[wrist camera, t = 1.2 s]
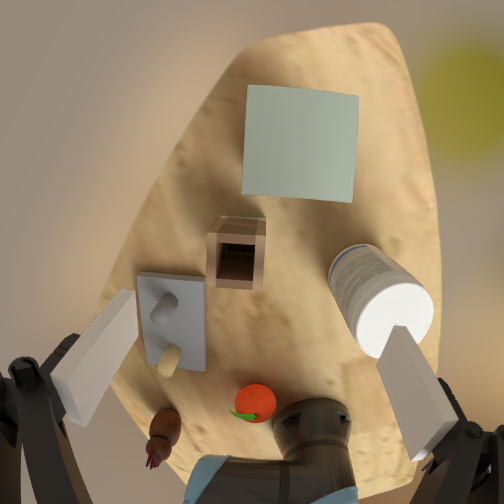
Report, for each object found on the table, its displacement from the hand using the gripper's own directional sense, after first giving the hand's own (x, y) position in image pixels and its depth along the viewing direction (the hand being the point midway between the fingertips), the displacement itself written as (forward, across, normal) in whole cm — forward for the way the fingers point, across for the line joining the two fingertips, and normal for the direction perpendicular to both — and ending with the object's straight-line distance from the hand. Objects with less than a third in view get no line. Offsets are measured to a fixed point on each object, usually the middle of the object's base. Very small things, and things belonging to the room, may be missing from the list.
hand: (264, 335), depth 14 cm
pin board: (+26, +12, +19) cm, 34 cm away
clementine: (+26, -2, +31) cm, 40 cm away
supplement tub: (+27, -14, +7) cm, 32 cm away
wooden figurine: (+25, +13, +42) cm, 51 cm away
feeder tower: (+28, -1, -8) cm, 29 cm away
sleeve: (+27, +3, +4) cm, 28 cm away
